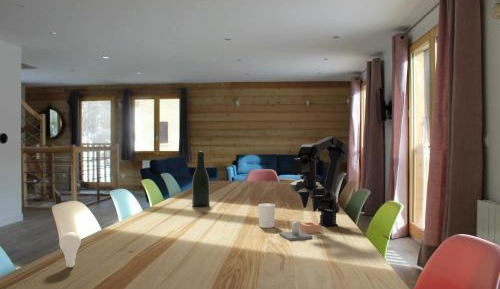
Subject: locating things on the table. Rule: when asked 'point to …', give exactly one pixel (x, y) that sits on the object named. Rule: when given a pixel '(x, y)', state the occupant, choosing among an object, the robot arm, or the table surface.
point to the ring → (309, 227)
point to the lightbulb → (70, 247)
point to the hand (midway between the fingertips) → (309, 209)
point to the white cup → (266, 215)
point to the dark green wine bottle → (200, 184)
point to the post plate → (296, 237)
